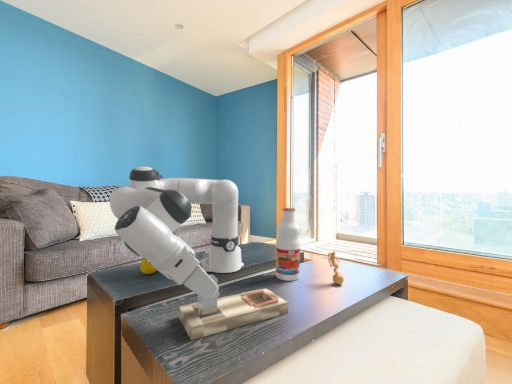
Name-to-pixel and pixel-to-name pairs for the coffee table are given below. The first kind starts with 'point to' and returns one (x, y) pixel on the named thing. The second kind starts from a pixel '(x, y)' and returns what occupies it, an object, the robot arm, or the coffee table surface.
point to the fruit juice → (288, 247)
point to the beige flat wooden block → (232, 312)
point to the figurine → (336, 277)
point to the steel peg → (207, 304)
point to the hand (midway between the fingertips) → (213, 291)
